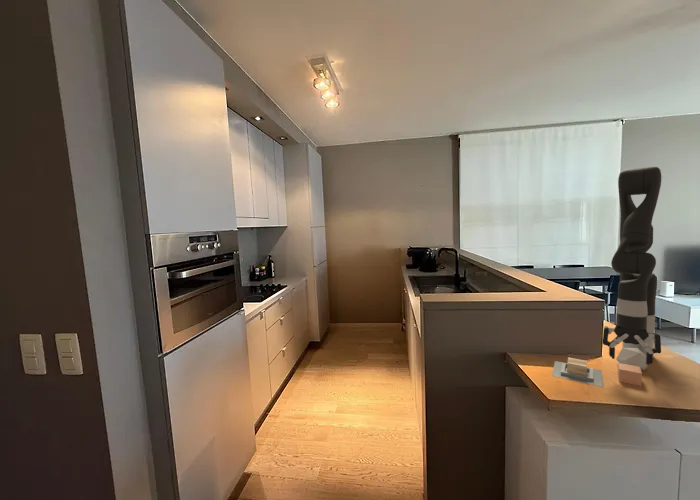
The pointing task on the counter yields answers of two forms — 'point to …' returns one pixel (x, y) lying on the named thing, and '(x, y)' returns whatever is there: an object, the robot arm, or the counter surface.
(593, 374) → the base plate
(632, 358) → the grey faceted rock
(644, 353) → the robot arm
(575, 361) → the base block
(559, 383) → the counter surface
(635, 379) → the top block
